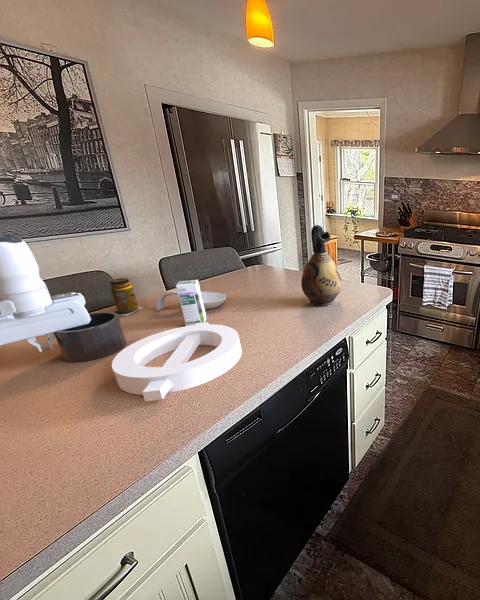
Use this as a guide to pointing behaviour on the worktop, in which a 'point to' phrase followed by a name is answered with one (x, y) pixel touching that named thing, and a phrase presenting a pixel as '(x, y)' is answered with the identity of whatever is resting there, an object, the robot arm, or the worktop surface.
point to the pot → (92, 338)
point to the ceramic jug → (320, 272)
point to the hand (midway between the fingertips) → (46, 349)
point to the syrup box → (191, 302)
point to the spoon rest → (208, 298)
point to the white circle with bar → (176, 360)
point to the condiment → (124, 297)
